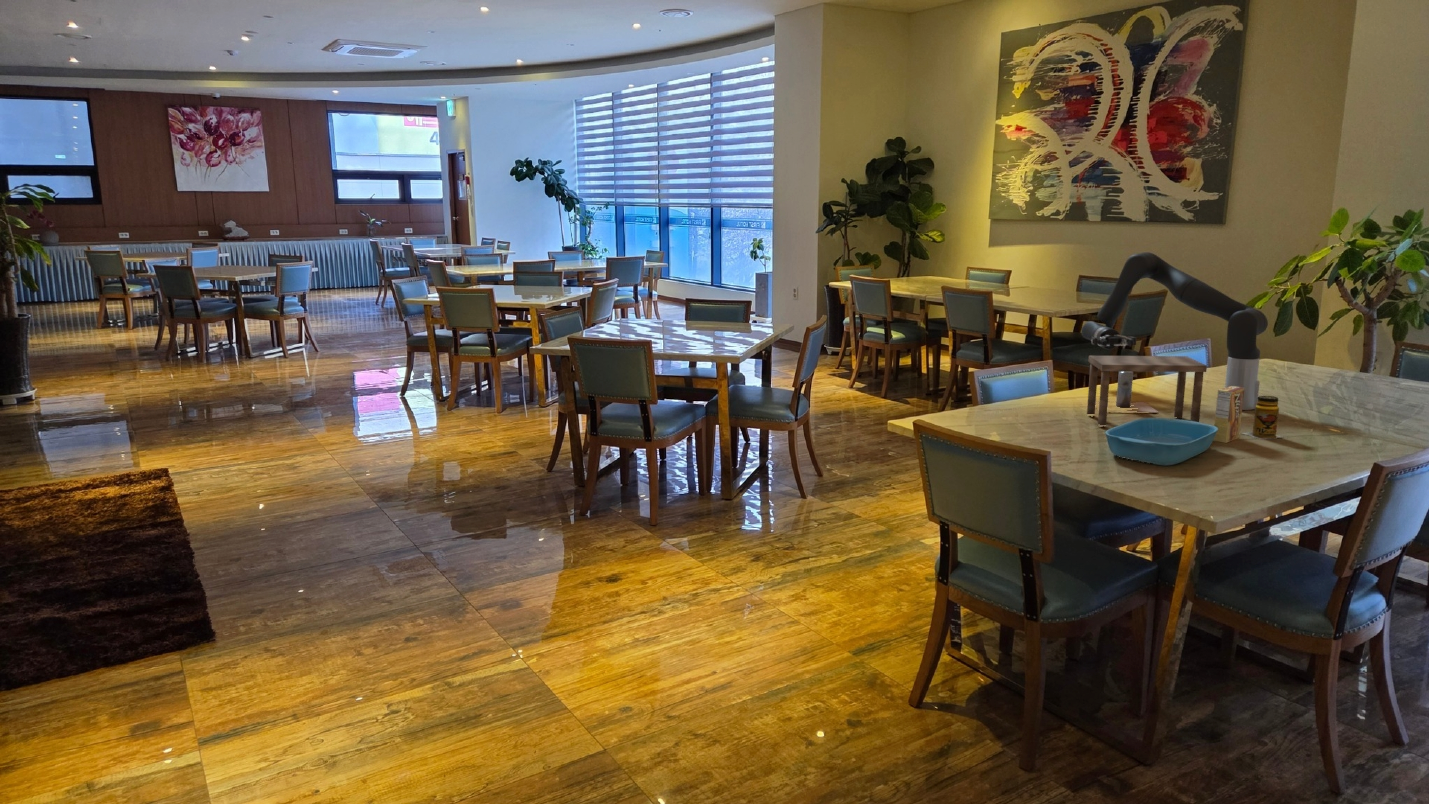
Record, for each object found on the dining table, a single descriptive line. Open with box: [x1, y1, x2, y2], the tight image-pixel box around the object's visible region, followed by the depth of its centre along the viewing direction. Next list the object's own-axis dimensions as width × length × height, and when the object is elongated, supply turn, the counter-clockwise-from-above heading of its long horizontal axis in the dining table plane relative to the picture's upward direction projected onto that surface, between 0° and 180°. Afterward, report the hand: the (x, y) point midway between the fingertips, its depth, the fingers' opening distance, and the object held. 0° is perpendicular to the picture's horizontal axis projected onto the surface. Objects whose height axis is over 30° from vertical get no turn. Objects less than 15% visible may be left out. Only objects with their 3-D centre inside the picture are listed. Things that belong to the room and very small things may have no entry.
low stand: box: [1086, 355, 1208, 426], centre depth 290 cm, size 30×18×20 cm, turn 81°
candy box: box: [1212, 386, 1245, 444], centre depth 268 cm, size 9×4×15 cm, turn 129°
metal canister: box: [1115, 371, 1134, 408], centre depth 311 cm, size 4×4×12 cm
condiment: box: [1241, 395, 1282, 440], centre depth 272 cm, size 7×8×12 cm
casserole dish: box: [1104, 417, 1218, 466], centre depth 256 cm, size 37×22×7 cm, turn 133°
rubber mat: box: [1127, 401, 1159, 414], centre depth 313 cm, size 18×16×1 cm
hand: (1118, 343), depth 320 cm, fingers open, 8 cm apart
